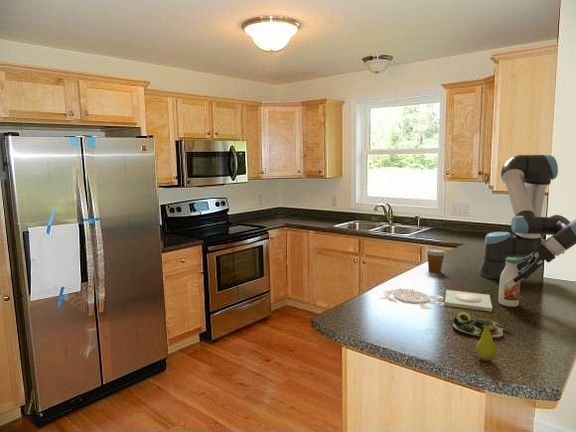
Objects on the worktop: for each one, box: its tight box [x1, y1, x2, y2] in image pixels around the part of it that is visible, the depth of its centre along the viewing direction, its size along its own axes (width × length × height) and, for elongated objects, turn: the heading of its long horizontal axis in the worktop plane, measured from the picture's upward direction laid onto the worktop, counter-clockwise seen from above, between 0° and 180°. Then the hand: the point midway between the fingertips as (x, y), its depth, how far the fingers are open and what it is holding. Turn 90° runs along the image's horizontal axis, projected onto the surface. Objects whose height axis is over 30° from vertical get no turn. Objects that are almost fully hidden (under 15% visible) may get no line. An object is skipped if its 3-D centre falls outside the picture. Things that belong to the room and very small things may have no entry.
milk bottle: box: [498, 257, 521, 308], centre depth 174 cm, size 8×8×20 cm
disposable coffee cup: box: [426, 248, 446, 274], centre depth 225 cm, size 10×10×12 cm
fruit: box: [475, 320, 497, 362], centre depth 125 cm, size 6×6×12 cm
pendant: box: [379, 286, 445, 310], centre depth 182 cm, size 21×28×1 cm
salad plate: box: [451, 310, 512, 339], centre depth 148 cm, size 19×18×5 cm
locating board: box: [444, 289, 493, 313], centre depth 177 cm, size 18×18×2 cm
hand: (505, 281), depth 174 cm, fingers open, 13 cm apart
